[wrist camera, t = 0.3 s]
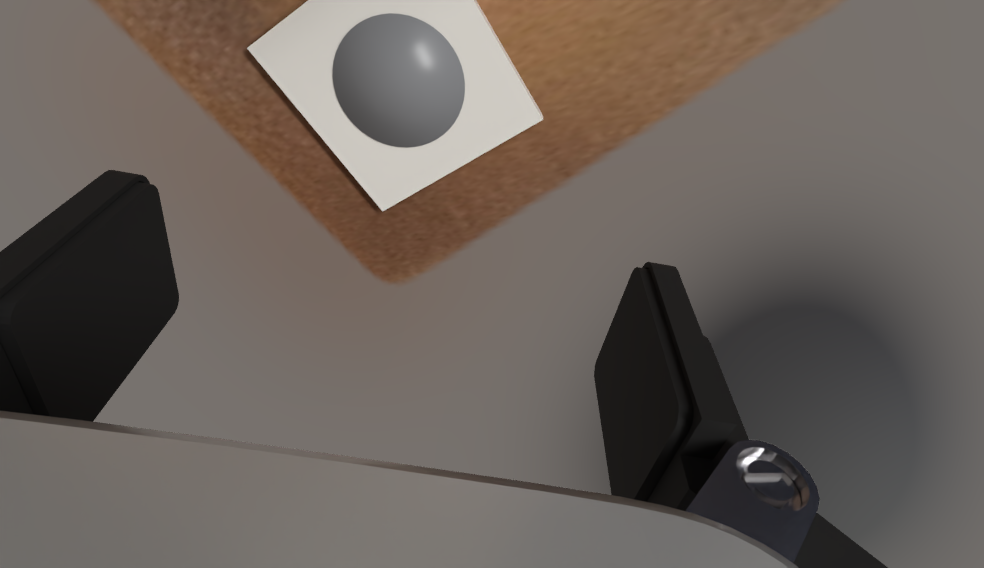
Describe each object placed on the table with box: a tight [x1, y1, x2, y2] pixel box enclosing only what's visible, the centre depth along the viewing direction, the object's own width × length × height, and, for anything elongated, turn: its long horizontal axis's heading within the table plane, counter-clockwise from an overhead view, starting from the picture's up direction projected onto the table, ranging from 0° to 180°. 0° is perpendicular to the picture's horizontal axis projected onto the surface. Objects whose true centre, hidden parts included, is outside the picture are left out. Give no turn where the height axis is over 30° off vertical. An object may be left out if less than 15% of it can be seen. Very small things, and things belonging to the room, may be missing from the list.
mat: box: [247, 0, 543, 211], centre depth 43 cm, size 16×16×1 cm
